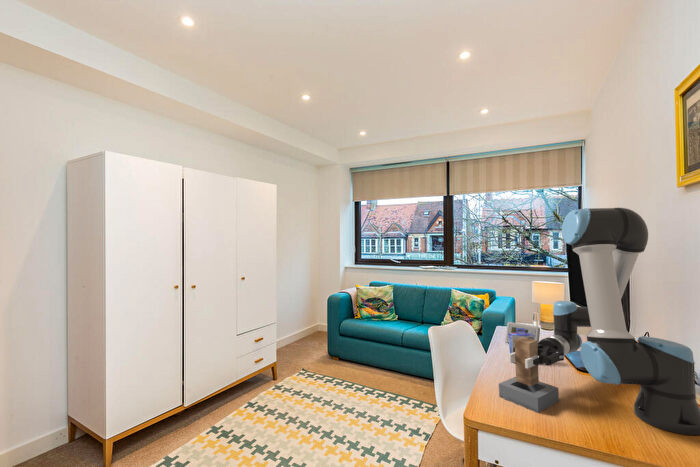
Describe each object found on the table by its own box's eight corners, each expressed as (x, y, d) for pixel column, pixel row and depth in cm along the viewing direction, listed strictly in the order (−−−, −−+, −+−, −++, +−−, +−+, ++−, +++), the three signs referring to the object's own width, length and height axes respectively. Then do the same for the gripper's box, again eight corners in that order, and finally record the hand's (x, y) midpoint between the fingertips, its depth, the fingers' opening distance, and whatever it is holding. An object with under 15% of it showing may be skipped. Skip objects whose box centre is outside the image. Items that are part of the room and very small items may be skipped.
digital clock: (503, 342, 171) (502, 322, 171) (514, 340, 175) (513, 320, 176) (533, 351, 157) (532, 329, 157) (544, 348, 161) (543, 326, 161)
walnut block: (538, 382, 109) (537, 340, 109) (530, 386, 106) (529, 343, 107) (524, 377, 113) (522, 337, 114) (515, 380, 111) (514, 339, 111)
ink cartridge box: (532, 360, 145) (531, 327, 145) (537, 364, 140) (535, 330, 140) (508, 359, 147) (507, 326, 147) (512, 363, 141) (511, 330, 142)
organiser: (558, 401, 107) (558, 387, 107) (538, 413, 100) (537, 398, 100) (520, 387, 118) (519, 374, 118) (499, 396, 111) (498, 383, 111)
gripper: (581, 365, 112) (546, 382, 100) (528, 350, 127) (493, 364, 115) (580, 343, 112) (545, 358, 100) (528, 331, 127) (492, 342, 115)
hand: (517, 361), depth 107 cm, fingers closed on walnut block, 5 cm apart
